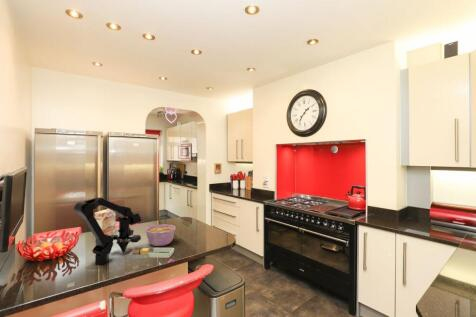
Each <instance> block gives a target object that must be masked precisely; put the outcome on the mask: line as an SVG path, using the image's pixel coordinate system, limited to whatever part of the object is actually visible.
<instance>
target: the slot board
mask: <svg viewBox="0 0 476 317" xmlns="http://www.w3.org/2000/svg"><path fill="white" fill-rule="evenodd" d="M135 248H136V247H133V248H131V252H129V253H125V254H124V258H125V259H126V258H127V259H133V258H134V259H148V258H149V257H148V254H132V250H133V249H135ZM141 248H142V249H143V248H144V247H141ZM148 248H149V253H155V252H154V248H155V247H151V248H150V247H148Z"/></svg>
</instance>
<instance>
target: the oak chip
mask: <svg viewBox="0 0 476 317" xmlns="http://www.w3.org/2000/svg"><path fill="white" fill-rule="evenodd" d="M134 248H135V249H133V248H132V249H133V250H132V249H131V252H132V254H140V250H141V249H142V248H143V247H134Z"/></svg>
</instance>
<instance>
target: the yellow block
mask: <svg viewBox="0 0 476 317" xmlns="http://www.w3.org/2000/svg"><path fill="white" fill-rule="evenodd" d="M142 248H143V249H141V250H140V254H148V253H149V248H150V247H142Z"/></svg>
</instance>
